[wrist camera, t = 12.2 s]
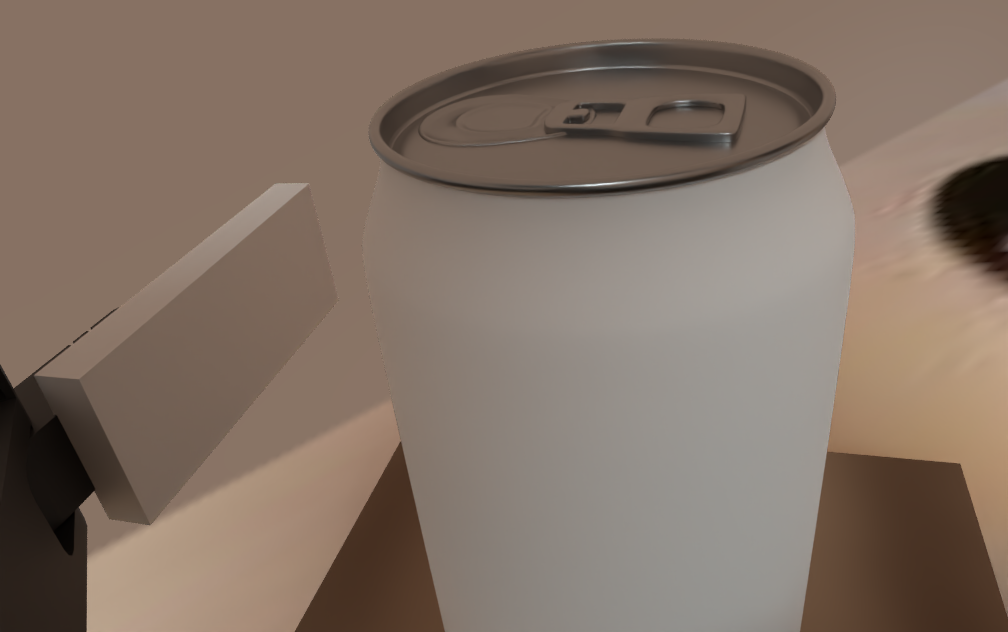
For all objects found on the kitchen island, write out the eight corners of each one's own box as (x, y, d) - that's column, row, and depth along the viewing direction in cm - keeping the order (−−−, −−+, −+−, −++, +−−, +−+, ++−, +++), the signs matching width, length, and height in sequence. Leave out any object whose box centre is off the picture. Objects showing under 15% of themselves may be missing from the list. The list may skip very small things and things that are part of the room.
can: (518, 530, 20) (451, 37, 13) (791, 581, 17) (866, 22, 11) (411, 789, 14) (219, 190, 8) (779, 906, 12) (902, 218, 6)
